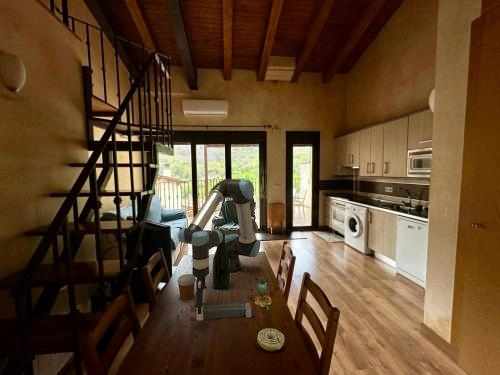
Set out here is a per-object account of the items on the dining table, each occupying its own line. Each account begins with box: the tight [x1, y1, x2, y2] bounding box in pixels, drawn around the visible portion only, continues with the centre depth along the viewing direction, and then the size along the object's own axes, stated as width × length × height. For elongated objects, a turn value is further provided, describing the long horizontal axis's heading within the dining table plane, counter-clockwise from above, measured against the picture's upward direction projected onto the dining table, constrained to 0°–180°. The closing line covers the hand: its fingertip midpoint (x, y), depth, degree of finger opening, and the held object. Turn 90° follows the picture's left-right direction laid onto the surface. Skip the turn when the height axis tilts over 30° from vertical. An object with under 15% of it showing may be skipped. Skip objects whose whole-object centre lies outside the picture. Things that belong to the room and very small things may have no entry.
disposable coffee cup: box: [176, 273, 197, 302], centre depth 128 cm, size 10×10×12 cm
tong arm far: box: [189, 302, 245, 310], centre depth 115 cm, size 2×25×4 cm, turn 97°
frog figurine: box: [254, 276, 272, 311], centre depth 126 cm, size 10×18×15 cm, turn 1°
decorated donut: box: [256, 327, 285, 352], centre depth 97 cm, size 10×11×4 cm
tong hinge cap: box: [244, 302, 252, 319], centre depth 115 cm, size 7×2×4 cm, turn 6°
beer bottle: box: [211, 230, 231, 291], centre depth 141 cm, size 10×10×33 cm
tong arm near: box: [188, 306, 246, 321], centre depth 112 cm, size 2×25×4 cm, turn 96°
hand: (201, 310), depth 112 cm, fingers open, 13 cm apart
